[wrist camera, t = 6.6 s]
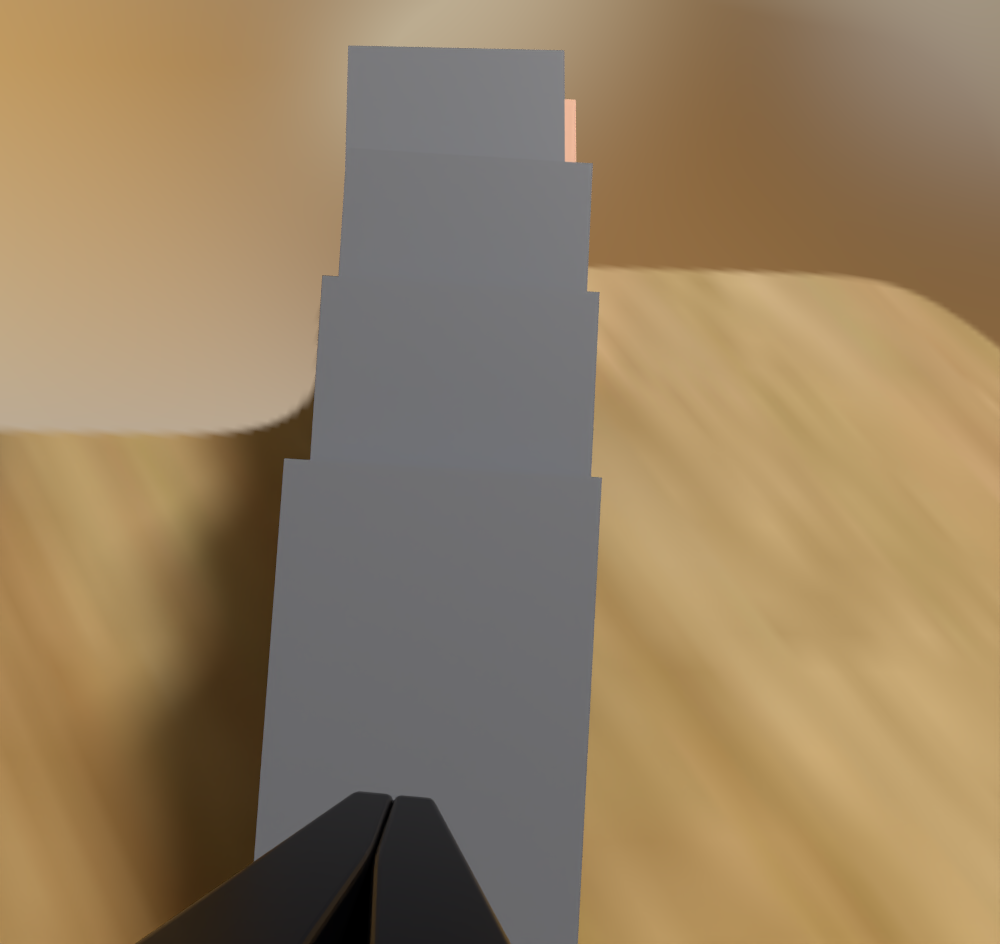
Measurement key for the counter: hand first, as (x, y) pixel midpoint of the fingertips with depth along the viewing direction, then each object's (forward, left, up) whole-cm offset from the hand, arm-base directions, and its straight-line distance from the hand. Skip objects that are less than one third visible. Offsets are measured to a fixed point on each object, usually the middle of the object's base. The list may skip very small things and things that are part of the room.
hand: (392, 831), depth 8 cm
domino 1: (-3, +1, -7) cm, 8 cm away
